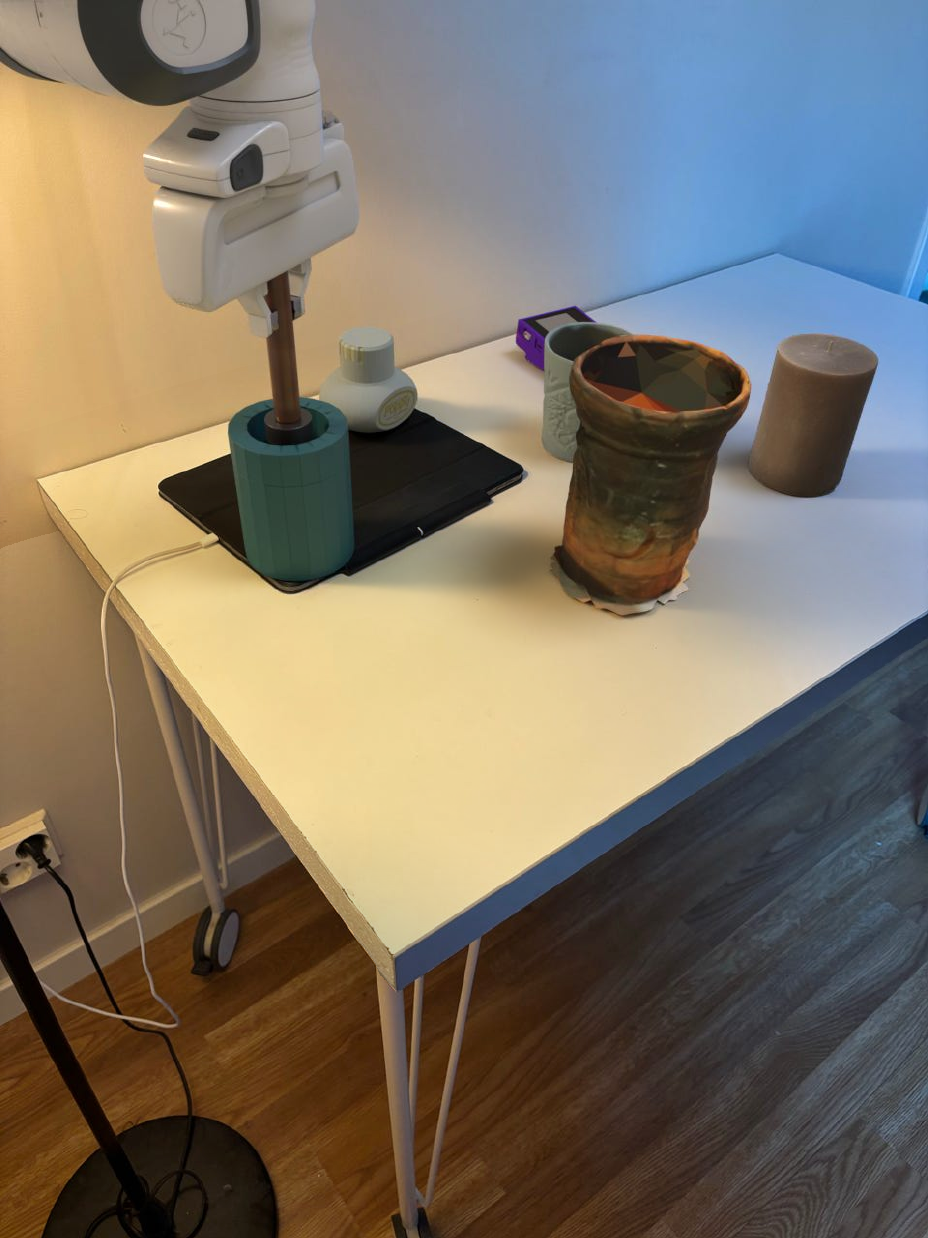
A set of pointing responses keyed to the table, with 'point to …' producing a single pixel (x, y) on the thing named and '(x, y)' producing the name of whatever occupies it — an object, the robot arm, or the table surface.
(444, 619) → the table surface
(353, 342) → the air freshener
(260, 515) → the container
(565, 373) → the green embossed cup
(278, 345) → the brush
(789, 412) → the pillar candle
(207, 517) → the table surface
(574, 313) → the handheld gaming console
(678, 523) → the vessel
